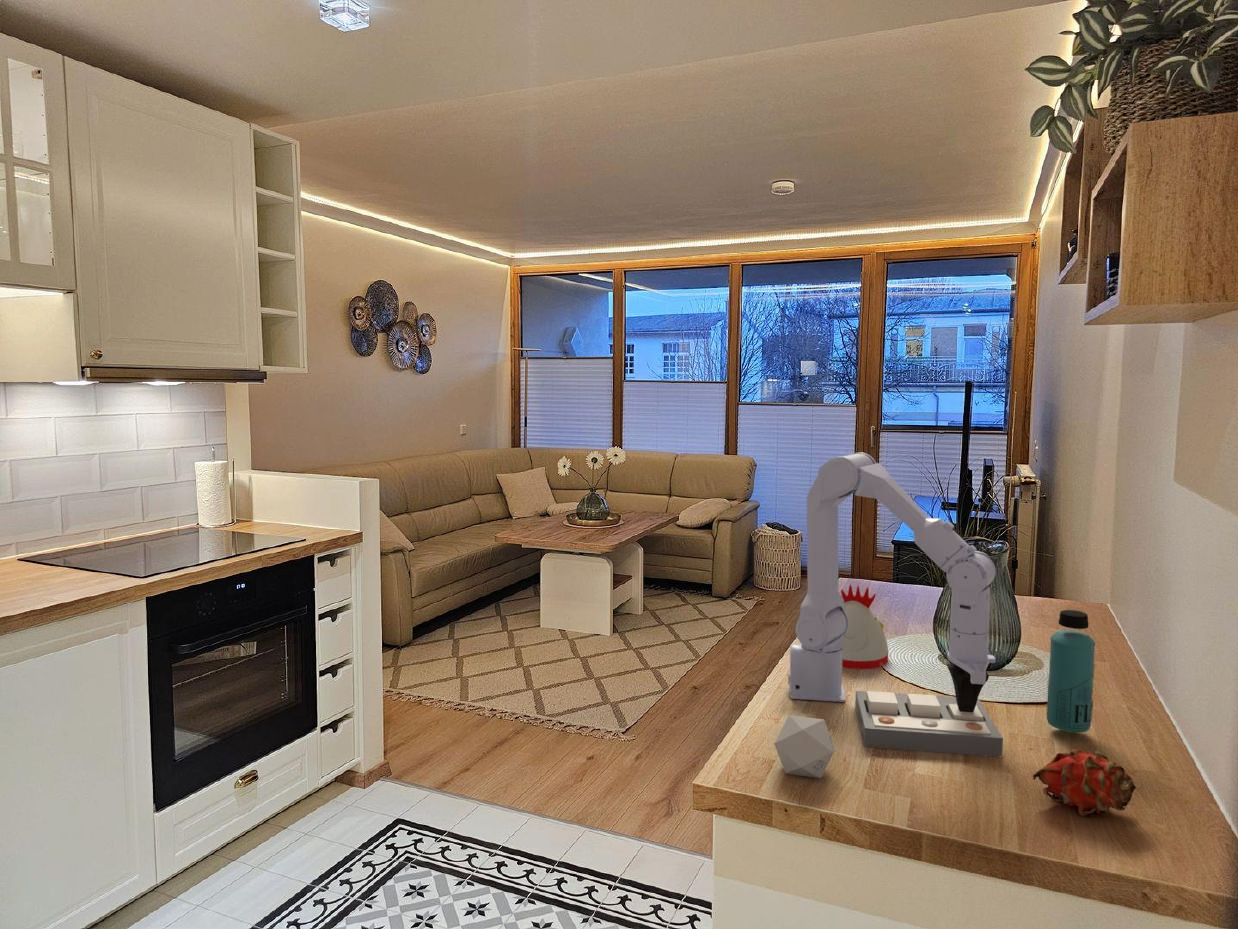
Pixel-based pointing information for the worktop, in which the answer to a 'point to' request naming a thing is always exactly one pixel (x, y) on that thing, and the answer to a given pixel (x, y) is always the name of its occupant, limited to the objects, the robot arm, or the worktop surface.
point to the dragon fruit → (1086, 782)
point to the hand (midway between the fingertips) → (965, 710)
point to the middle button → (923, 705)
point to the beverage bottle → (1071, 675)
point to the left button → (882, 703)
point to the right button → (964, 713)
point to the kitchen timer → (863, 633)
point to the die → (804, 746)
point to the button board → (928, 729)
